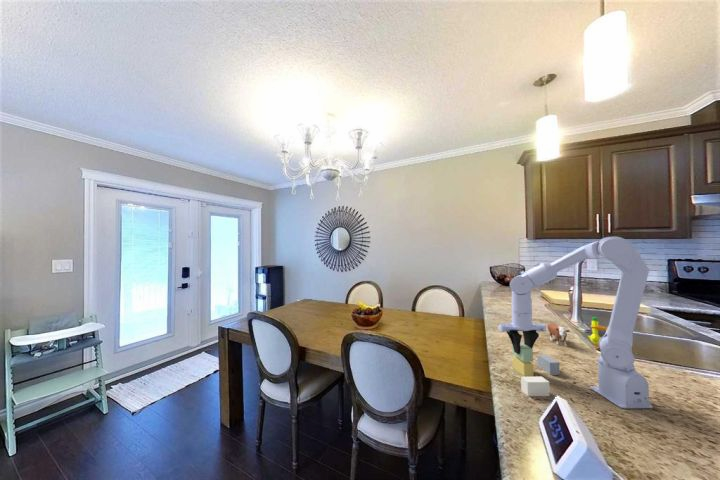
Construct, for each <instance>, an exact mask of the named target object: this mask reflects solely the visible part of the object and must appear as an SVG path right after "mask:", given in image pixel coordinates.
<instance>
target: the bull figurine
mask: <svg viewBox="0 0 720 480" xmlns="http://www.w3.org/2000/svg"><path fill="white" fill-rule="evenodd" d="M547 330H548V336H549V340H551V342H554V340H555V339H556V340H555V341H556V344H557V345H556V346H559V345H560V341H562V342H563V346H564V347H565V346H566V348H568V344H567V335H568V334H567V333H570V330H569V329H565V327H563V326H559V325H558V324H555V323H553V322H549V323H548V324H547ZM553 336H554V339H553Z"/></svg>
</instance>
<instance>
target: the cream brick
mask: <svg viewBox="0 0 720 480" xmlns="http://www.w3.org/2000/svg"><path fill="white" fill-rule="evenodd" d="M520 388H521V389H520V390H521V392H523V393H524V395H526V396H527V397H550V381H548V380H547V379H545V378H544V376H531V377H524V376H520Z"/></svg>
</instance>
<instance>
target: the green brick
mask: <svg viewBox="0 0 720 480" xmlns="http://www.w3.org/2000/svg"><path fill="white" fill-rule="evenodd" d="M511 345H512V344H511ZM511 347H512V355H513V356H516V357H518V358H519V359H520V360H522V361H523V362H531V363H533V361H534V354H533V348H530V347H528V346H527V345H525V344H524V342H522V341H521V342H520V354H517V353H515V352H514V348H513V345H512V346H511Z"/></svg>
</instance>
